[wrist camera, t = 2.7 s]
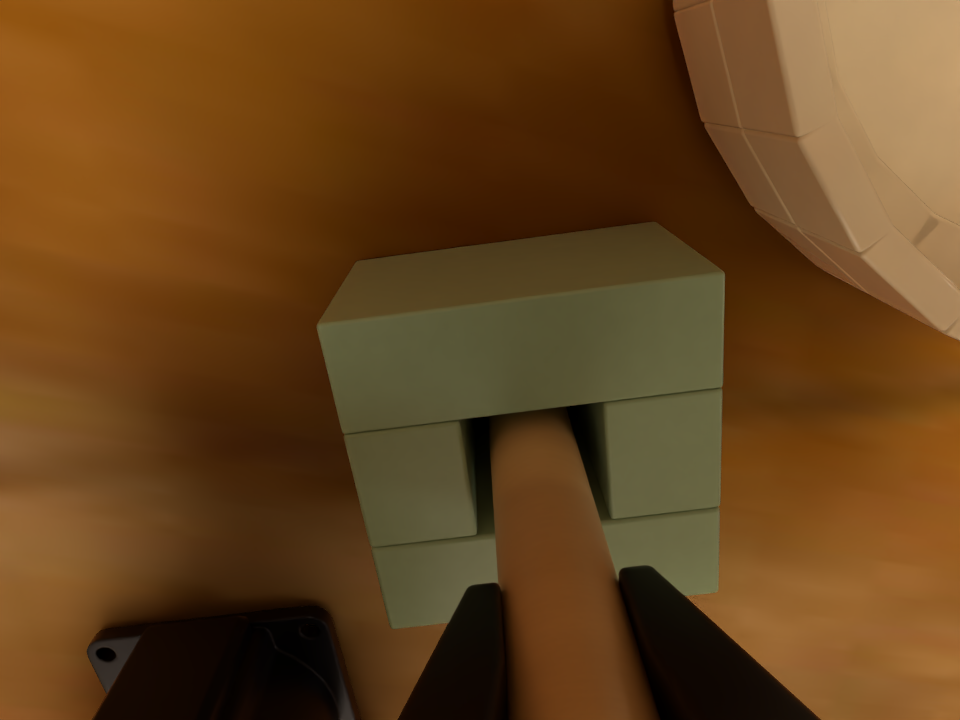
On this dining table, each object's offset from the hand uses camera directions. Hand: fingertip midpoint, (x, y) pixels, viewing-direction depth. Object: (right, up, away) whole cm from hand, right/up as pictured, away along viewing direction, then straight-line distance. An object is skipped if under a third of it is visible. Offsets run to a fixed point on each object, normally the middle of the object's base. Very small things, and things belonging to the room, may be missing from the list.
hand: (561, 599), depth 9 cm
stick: (0, +3, +6) cm, 7 cm away
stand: (0, +3, +6) cm, 7 cm away
